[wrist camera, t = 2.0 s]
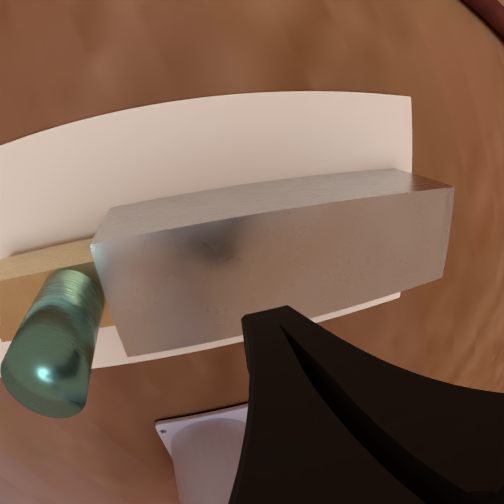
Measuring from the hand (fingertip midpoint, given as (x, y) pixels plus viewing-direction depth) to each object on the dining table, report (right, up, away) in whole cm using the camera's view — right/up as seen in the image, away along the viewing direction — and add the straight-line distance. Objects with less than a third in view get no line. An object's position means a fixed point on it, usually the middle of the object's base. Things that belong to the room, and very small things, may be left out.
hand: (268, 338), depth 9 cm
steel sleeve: (+1, +4, +8) cm, 9 cm away
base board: (-7, +3, +8) cm, 11 cm away
